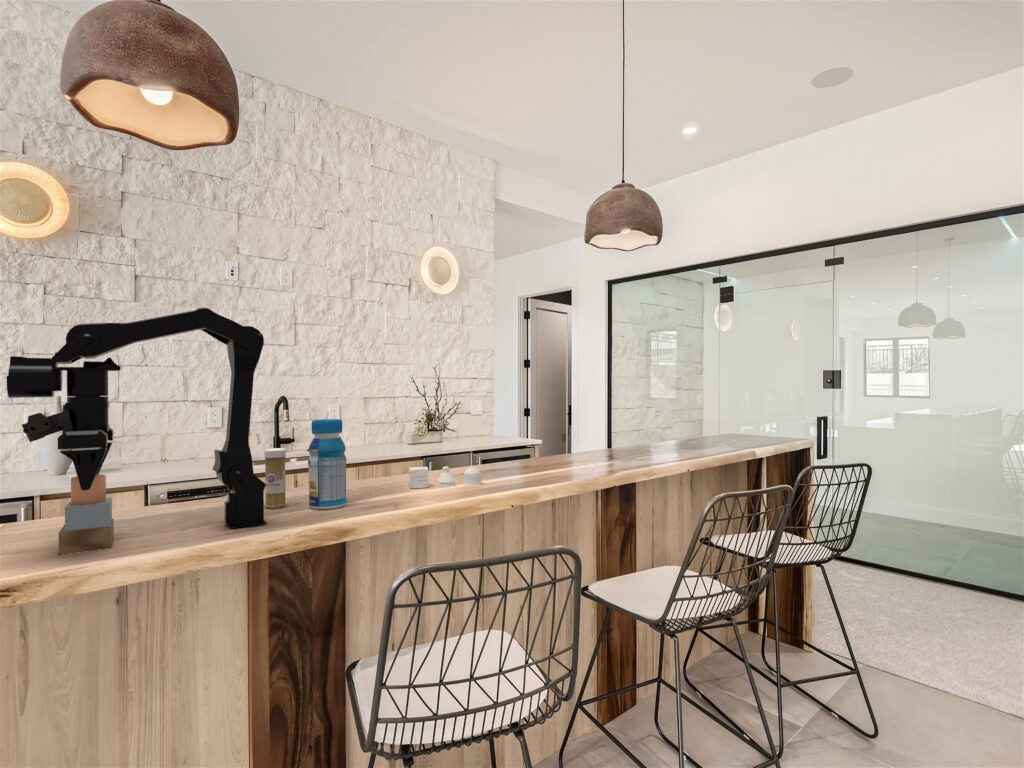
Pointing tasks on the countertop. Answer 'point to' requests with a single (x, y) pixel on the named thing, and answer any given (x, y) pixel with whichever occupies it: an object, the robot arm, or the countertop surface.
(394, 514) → the countertop surface
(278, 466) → the sprinkles bottle
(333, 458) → the beverage bottle
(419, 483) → the container set
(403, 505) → the countertop surface
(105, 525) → the tower top
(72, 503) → the tan cylinder
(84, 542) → the tower base
